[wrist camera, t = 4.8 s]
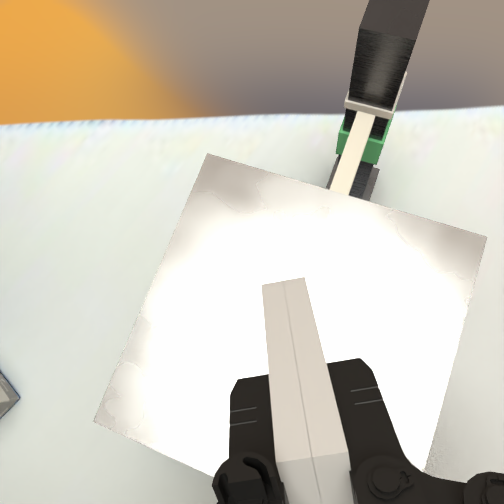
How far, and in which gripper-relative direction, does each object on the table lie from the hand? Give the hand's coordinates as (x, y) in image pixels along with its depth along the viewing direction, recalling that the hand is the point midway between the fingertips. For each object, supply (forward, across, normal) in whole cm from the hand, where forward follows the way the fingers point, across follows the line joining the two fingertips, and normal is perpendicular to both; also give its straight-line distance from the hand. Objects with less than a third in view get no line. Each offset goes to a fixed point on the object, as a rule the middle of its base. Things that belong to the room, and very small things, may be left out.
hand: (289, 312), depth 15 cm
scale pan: (+7, +1, -5) cm, 9 cm away
